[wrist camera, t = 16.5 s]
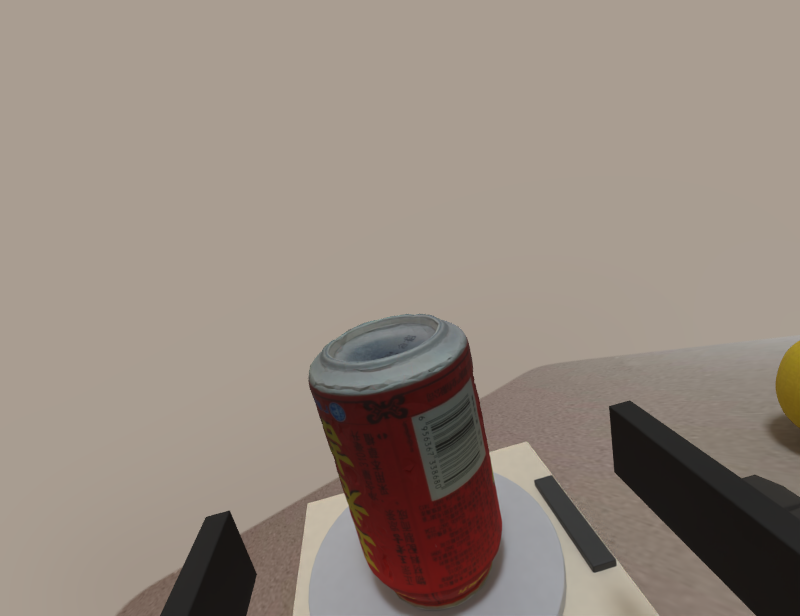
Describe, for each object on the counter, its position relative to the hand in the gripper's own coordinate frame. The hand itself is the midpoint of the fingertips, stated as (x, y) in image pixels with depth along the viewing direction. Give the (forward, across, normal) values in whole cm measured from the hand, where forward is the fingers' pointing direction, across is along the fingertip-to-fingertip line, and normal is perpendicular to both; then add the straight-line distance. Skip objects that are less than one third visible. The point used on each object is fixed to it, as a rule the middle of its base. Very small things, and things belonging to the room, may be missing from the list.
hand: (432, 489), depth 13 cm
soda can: (+5, 0, -8) cm, 10 cm away
